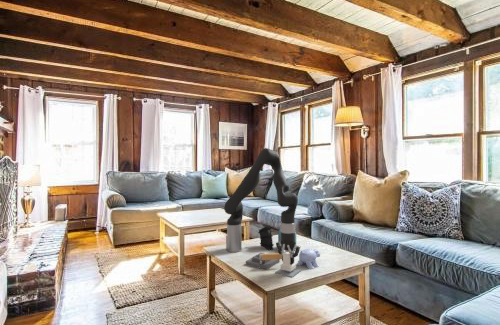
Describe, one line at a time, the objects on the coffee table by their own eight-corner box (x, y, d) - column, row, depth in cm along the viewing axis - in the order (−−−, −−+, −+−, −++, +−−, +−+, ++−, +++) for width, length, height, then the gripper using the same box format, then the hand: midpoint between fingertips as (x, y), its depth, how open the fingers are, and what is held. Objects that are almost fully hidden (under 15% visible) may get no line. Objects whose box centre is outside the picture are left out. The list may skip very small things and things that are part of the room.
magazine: (271, 249, 185) (265, 226, 190) (261, 252, 196) (256, 230, 201) (276, 248, 187) (270, 225, 192) (266, 252, 197) (261, 230, 203)
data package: (296, 249, 189) (296, 231, 189) (292, 251, 186) (292, 232, 186) (282, 245, 198) (282, 228, 197) (278, 247, 195) (277, 229, 194)
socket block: (245, 264, 165) (245, 257, 164) (259, 257, 176) (259, 250, 176) (266, 269, 156) (266, 262, 156) (279, 262, 168) (279, 255, 168)
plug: (280, 269, 153) (280, 254, 152) (285, 265, 157) (285, 250, 157) (290, 271, 149) (290, 256, 149) (295, 267, 154) (295, 252, 154)
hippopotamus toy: (326, 264, 164) (325, 247, 164) (308, 270, 155) (308, 253, 155) (311, 258, 173) (311, 243, 172) (293, 264, 163) (293, 248, 163)
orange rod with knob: (259, 259, 160) (259, 254, 160) (283, 258, 162) (283, 252, 162) (259, 260, 159) (259, 255, 159) (284, 259, 160) (284, 253, 160)
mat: (275, 273, 152) (275, 271, 152) (284, 267, 160) (284, 265, 160) (292, 277, 146) (292, 276, 146) (301, 271, 154) (301, 269, 154)
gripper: (272, 230, 154) (272, 262, 154) (296, 234, 145) (297, 268, 146) (279, 227, 160) (279, 258, 160) (303, 231, 152) (303, 263, 152)
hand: (288, 263), depth 153 cm, fingers closed on plug, 4 cm apart
